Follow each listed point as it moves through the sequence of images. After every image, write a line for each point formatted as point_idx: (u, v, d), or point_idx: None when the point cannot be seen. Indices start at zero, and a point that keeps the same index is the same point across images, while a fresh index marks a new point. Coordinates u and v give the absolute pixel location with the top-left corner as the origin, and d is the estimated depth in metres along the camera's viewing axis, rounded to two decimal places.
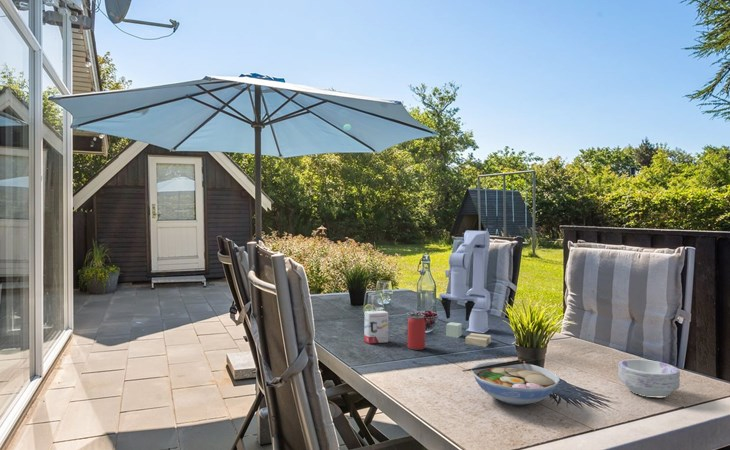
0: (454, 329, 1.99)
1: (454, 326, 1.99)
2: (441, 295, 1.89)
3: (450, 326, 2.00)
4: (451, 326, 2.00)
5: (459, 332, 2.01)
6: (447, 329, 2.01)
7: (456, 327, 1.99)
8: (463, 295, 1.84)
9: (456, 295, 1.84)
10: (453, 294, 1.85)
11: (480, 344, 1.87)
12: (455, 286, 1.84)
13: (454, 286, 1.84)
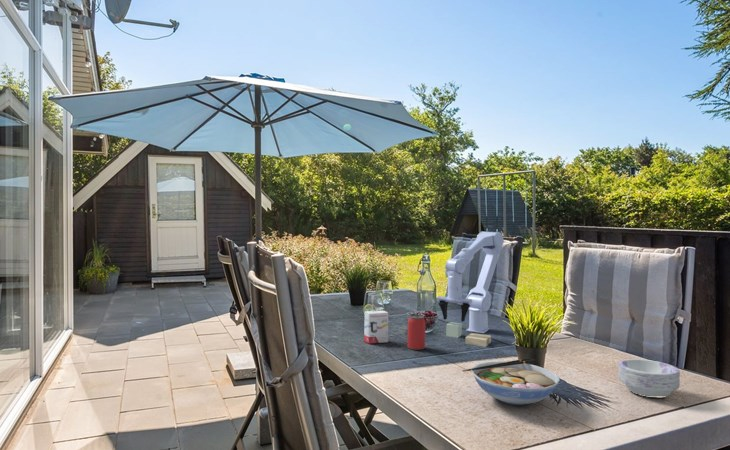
0: (454, 329, 1.99)
1: (454, 326, 1.99)
2: (439, 298, 2.04)
3: (450, 326, 2.00)
4: (451, 326, 2.00)
5: (459, 332, 2.01)
6: (447, 329, 2.01)
7: (456, 327, 1.99)
8: (459, 298, 2.00)
9: (452, 298, 1.99)
10: (450, 297, 2.00)
11: (480, 344, 1.87)
12: (452, 289, 1.99)
13: (451, 289, 2.00)
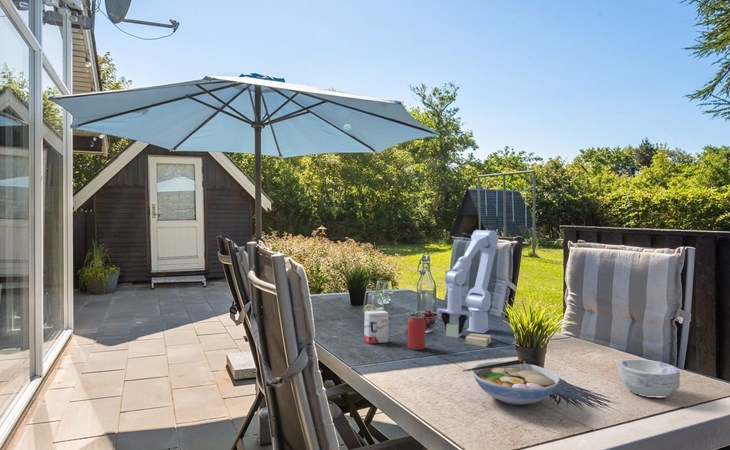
0: (454, 329, 1.99)
1: (454, 326, 1.99)
2: (438, 310, 2.04)
3: (450, 326, 2.00)
4: (451, 326, 2.00)
5: None
6: (447, 329, 2.01)
7: (456, 327, 1.99)
8: (459, 310, 2.00)
9: (452, 310, 1.99)
10: (450, 309, 2.00)
11: (480, 344, 1.87)
12: (451, 302, 2.00)
13: (450, 302, 2.00)
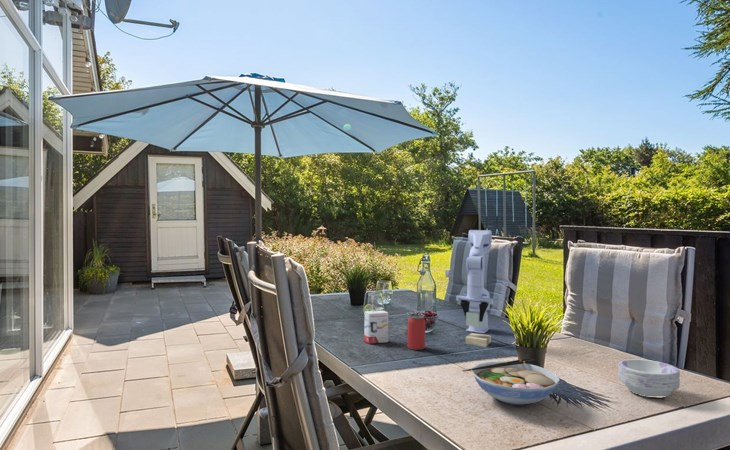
0: (474, 317, 1.90)
1: (474, 314, 1.90)
2: (458, 297, 1.95)
3: (470, 314, 1.91)
4: (471, 315, 1.91)
5: (479, 321, 1.91)
6: (467, 317, 1.91)
7: (477, 315, 1.90)
8: (479, 297, 1.90)
9: (473, 297, 1.90)
10: (470, 296, 1.91)
11: (480, 344, 1.87)
12: (472, 288, 1.90)
13: (471, 288, 1.91)
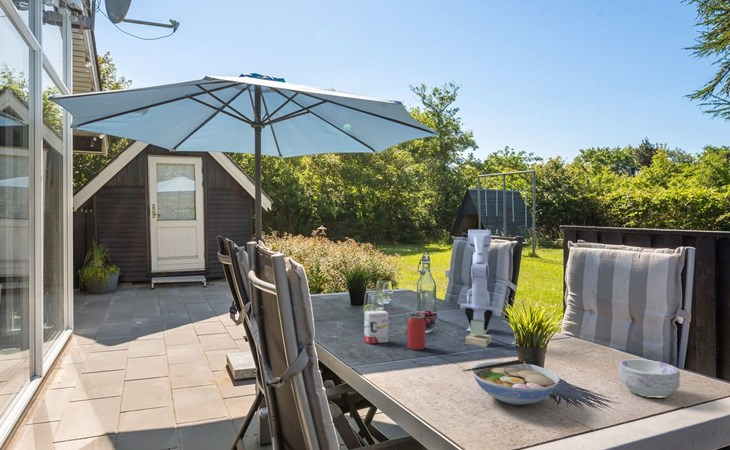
0: (479, 326, 1.88)
1: (479, 323, 1.88)
2: (462, 305, 1.93)
3: (475, 323, 1.89)
4: (476, 323, 1.89)
5: None
6: (472, 326, 1.90)
7: (481, 324, 1.88)
8: (484, 305, 1.89)
9: (477, 305, 1.88)
10: (474, 304, 1.89)
11: (480, 344, 1.87)
12: (476, 296, 1.88)
13: (475, 296, 1.89)
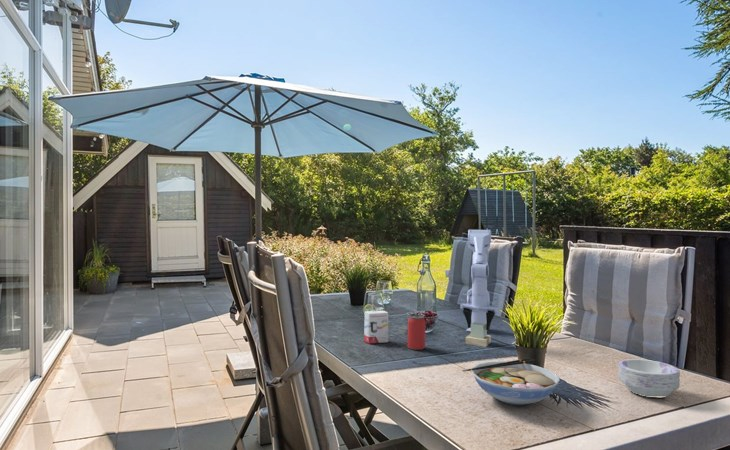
0: (479, 329, 1.88)
1: (479, 326, 1.88)
2: (462, 305, 1.93)
3: (475, 326, 1.89)
4: (476, 326, 1.89)
5: (484, 332, 1.89)
6: (471, 329, 1.90)
7: (481, 327, 1.88)
8: (484, 305, 1.89)
9: (477, 305, 1.88)
10: (474, 304, 1.89)
11: (480, 344, 1.87)
12: (476, 296, 1.88)
13: (475, 296, 1.89)
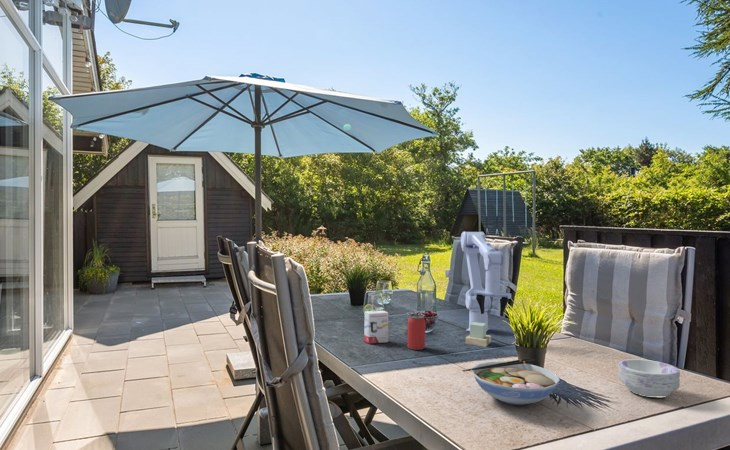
0: (478, 329, 1.88)
1: (478, 326, 1.88)
2: (476, 291, 1.97)
3: (474, 326, 1.89)
4: (475, 327, 1.89)
5: (484, 332, 1.89)
6: (471, 329, 1.90)
7: (481, 327, 1.88)
8: (497, 292, 1.93)
9: (491, 291, 1.93)
10: (488, 291, 1.93)
11: (480, 344, 1.87)
12: (490, 283, 1.93)
13: (489, 283, 1.93)
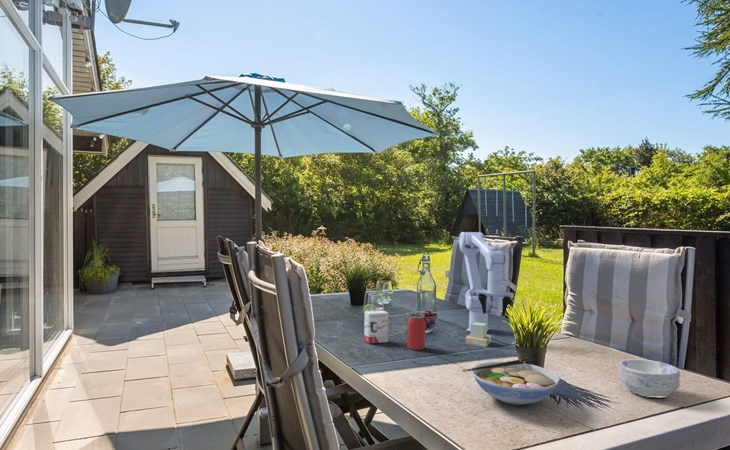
0: (479, 329, 1.88)
1: (479, 326, 1.88)
2: (478, 291, 1.98)
3: (475, 326, 1.89)
4: (476, 326, 1.89)
5: (484, 332, 1.89)
6: (471, 329, 1.90)
7: (481, 327, 1.88)
8: (500, 291, 1.93)
9: (493, 291, 1.93)
10: (490, 290, 1.94)
11: (480, 344, 1.87)
12: (492, 282, 1.93)
13: (491, 283, 1.94)
